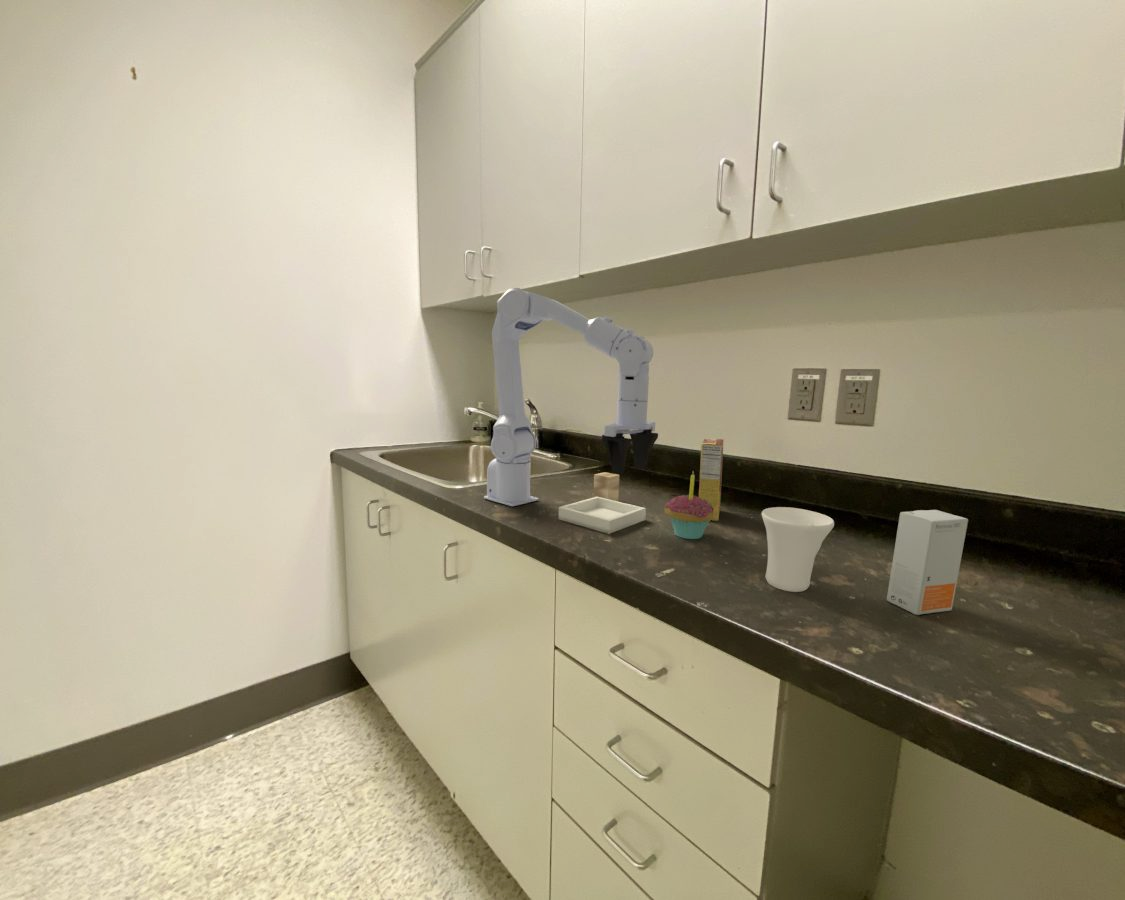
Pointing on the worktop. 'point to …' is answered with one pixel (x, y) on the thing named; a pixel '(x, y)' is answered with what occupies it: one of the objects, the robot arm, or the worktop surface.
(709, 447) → the candy box
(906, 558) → the skincare box
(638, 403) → the robot arm
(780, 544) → the cup
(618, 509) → the tray
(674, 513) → the cupcake
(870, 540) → the worktop surface
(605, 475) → the wooden block
